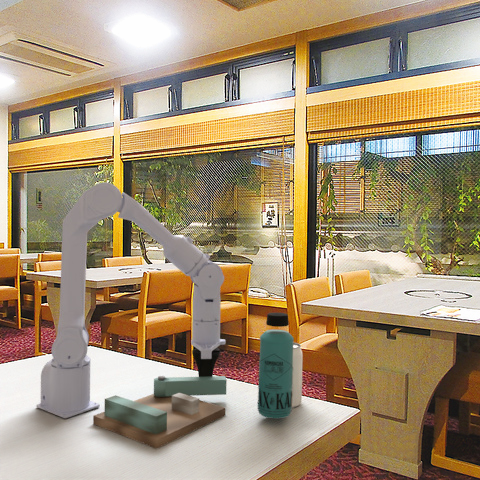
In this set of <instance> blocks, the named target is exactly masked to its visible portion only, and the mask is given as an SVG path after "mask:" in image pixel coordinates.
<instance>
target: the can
mask: <svg viewBox="0 0 480 480" xmlns="http://www.w3.org/2000/svg"><path fill="white" fill-rule="evenodd" d="M301 346H302V345H301V344H300V343H298V342H294V341H293V368H294V370H293V377H292V379H293V380H292V382H293V383H292V394H293V399H292V404H291V405H292V406H291V409H294V408H297V407H299V406H300V405H301V404H302V401H303V400H302V395H303V361H304V360H303V355H304V354H303V350H302V348H301Z"/></svg>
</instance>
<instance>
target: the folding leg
mask: <svg viewBox="0 0 480 480" xmlns="http://www.w3.org/2000/svg"><path fill="white" fill-rule="evenodd" d="M177 393H182V394H185V395H189V396H192V397H195V396H219V395H220V396H222V395H227V378H226V376H225V375H220V376H219V375H215V376H209V377H199V376H175V377H174V376H173V377H171V376H170V377H166V376H164V375H159V376H157V377H156V378H153V394H154V396H157V397H165V396H172V395H175V394H177Z"/></svg>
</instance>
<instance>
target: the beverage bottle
mask: <svg viewBox="0 0 480 480" xmlns="http://www.w3.org/2000/svg"><path fill="white" fill-rule="evenodd" d="M265 322H266V324H265V325H267V326H270V327H276V328H278V327H279V328H282V327H288V326H289V315H288V314H287V313H285V312H269V313H267V315H266V321H265ZM259 341H260V343H259V344H260V346H259V363H258V375H257V376H258V377H257V378H258V379H257V383H258V387H257V388H258V390H257V405H256V407H257V408H256V409H257V411H258V413H259V415H260V416H263V417H266V418H269V419H283V418H287V417H289V416H290V415H291V413H292V410H293V409H292V408H291V406H292V405H291V404H292V399H293V394H292V383H293V382H292V380H293V379H292V377H293V370H294V368H293V342H294V337H293V336H292V334H291V333H290V332H289V331H287V330H283V329H267V330H265V331H264V332H263V333H262V334H260V336H259Z"/></svg>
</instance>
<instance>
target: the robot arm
mask: <svg viewBox="0 0 480 480" xmlns="http://www.w3.org/2000/svg"><path fill="white" fill-rule="evenodd" d="M116 213H119V214H118V217H117V218H119V219H123V220H125V221H126V220H127V221H131V222H133V223H134V224H135V225H136V226H138V227H139V228H140V229H141V230H142V231H144V232H145V233H147V235H148V236H150V237H151V238H152V239H153V240H155V241H156V242H157V243H158V244H160V245H161V246H162V249H163V250H162V251H163V252H162V253H163V257H164V258H165V259H166V260H168V261H169V262H170V263H171V264H173V266H175V267H176V268H177V270H179V271H180V272H182V273H183V274H184V275H185V276H187V277H190V280H191V281H192V283H193V297H192V324H191V325H192V331H191V333H192V334H191V335H192V336H191V340H190V344H191V346H193V347H194V349H192V351H191V353H192V354H191V355H192V356H193V358H194V361H195V363H196V367H197V372H198V373H197V375H198V377H209V376H213V374H214V370H215V365H216V362H217V361H218V358H219V357H220V355H221V354H220V348H218V347H220V346H222V345H223V346H224V345H226V339H224V338H223V339H222V338H221V302H222V301H221V298H222V297H221V286H222V285H223V284H224V282H225V275H224V273H223V270H222V268H221V266H219V265H218V264H217V263H215V262H213V261H212V260H210V258H211V255H210V254H209V253H203V252H202V251H201V249H200V248H198V247H197V246H196V245H195V244H194V243H193V242H194V239H192V238H191V237H190V236H185V235H184V234H175V235H174V234H172V233H171V232H170V231H169V230H168V229H167V228H166V227H165V226H164V225H163V224H162V223H161V222H160V221H159V220H158V219H157V218H156V217H155V216H153V214H151V212H149V211H148V210H147V209H146V208H145V207H144V206H143V205H142V204H141V203H139V202H138V201H137V200H135V198H133V197H131V196H130V195H128V194H127V193H125V192H124V191H123V192H122V193H121V191H120V189H119V188H118V187H117V186H116V185H114V184H112V183H110V182H99V183H97V184H95V185H92V186H91V187H90V188H89V189H87V190H84V191H83V192H82V194H81V195H80V197H79V198H78V200H77V201H76V202H75V203H74V205H72V208H70V211H68V213H67V214H66V216H65V217H64V218H63V221H62V231H61V232H62V233H61V260H60V261H61V262H60V263H61V264H60V267H61V268H60V289H59V290H60V291H59V294H60V295H59V296H60V297H59V315H58V316H59V318H58V323H57V334H56V337H55V338H54V341H53V343H52V345H51V351H50V352H51V356H52V358H51V359H50V360H48V361H47V362H46V363H45V364H44V366H43V368H42V370H41V373H40V402H39V403H37V404H36V408H39V409H41V410H43V411H45V412H49V413H51V414H53V415H55V416H56V417H57V416H58V417H60V418H63V419H67V418H71V417H74V416H76V415H79V414H83V413H85V412H88V411H91V410H94V409H97V408H99V407H100V403H97V402H94V401H92V400H91V357H90V356H89V355H88V345H89V342H90V334H89V332H88V330H87V328H86V324H85V323H86V322H85V321H86V319H85V317H86V315H85V314H86V313H85V311H86V310H85V309H86V308H85V306H86V304H85V303H86V283H87V282H86V279H87V276H86V275H87V253H88V251H87V249H88V232H89V231H90V230H91V229H92V228H94V227H95V226H96V225H97V224H99V222H101V221H102V220H104V219H107V218H109V217H111V216H114V215H115V214H116Z"/></svg>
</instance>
